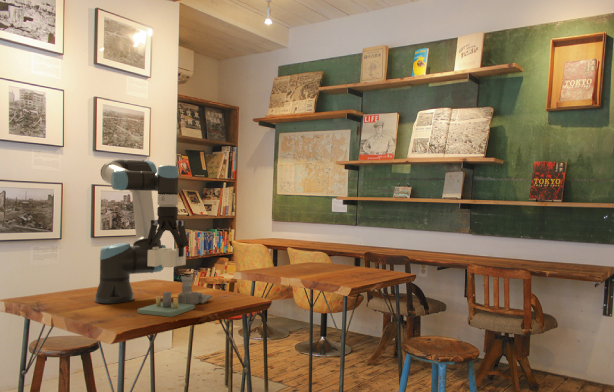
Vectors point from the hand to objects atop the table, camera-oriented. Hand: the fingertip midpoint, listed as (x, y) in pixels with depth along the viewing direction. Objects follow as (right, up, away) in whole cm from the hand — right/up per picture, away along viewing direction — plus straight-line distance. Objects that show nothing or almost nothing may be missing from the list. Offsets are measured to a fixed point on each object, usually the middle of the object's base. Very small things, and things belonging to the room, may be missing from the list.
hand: (167, 264), depth 189 cm
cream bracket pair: (0, 0, 0) cm, 0 cm away
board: (0, -18, 0) cm, 18 cm away
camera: (+7, -18, +14) cm, 24 cm away
